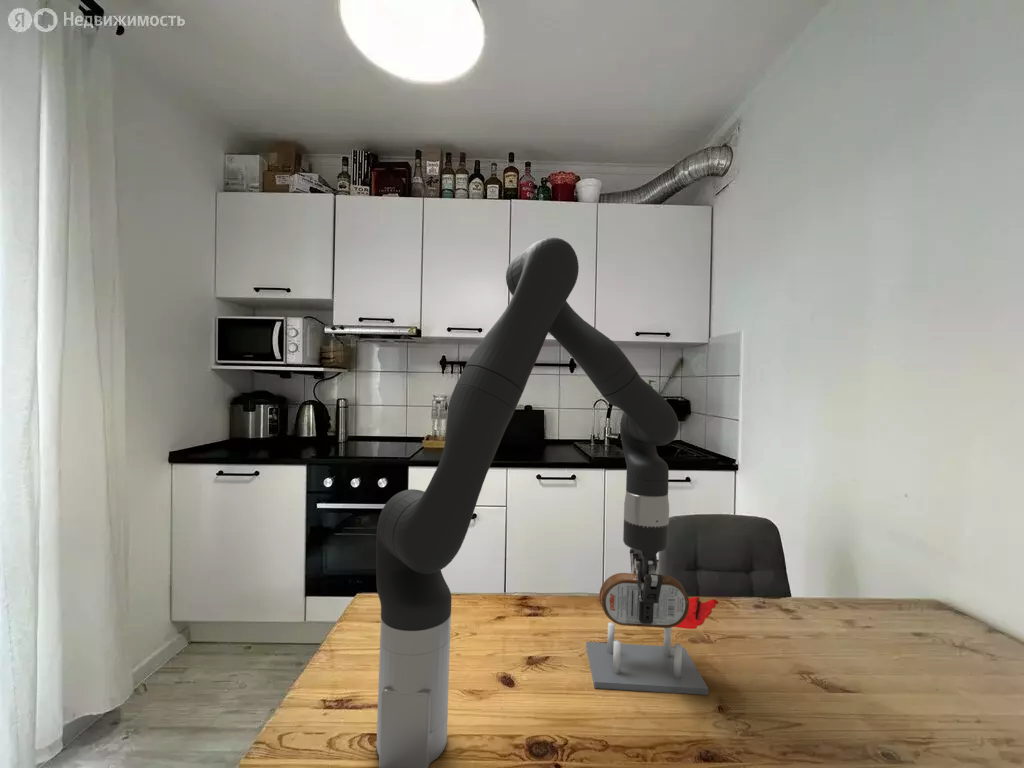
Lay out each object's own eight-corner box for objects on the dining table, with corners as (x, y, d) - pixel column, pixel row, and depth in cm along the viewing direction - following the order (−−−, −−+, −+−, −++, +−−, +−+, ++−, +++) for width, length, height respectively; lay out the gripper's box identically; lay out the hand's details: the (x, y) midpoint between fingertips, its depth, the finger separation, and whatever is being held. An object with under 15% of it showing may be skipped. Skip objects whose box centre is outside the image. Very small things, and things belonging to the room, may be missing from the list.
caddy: (708, 695, 75) (709, 657, 75) (594, 688, 76) (595, 650, 76) (684, 652, 87) (685, 620, 87) (586, 647, 88) (587, 614, 88)
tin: (685, 622, 83) (685, 574, 83) (691, 631, 80) (691, 580, 80) (598, 618, 84) (599, 570, 84) (601, 627, 81) (602, 577, 81)
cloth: (632, 636, 94) (633, 624, 94) (606, 604, 107) (607, 594, 107) (750, 628, 98) (750, 617, 98) (711, 599, 112) (711, 589, 112)
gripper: (680, 531, 75) (677, 641, 75) (657, 508, 89) (654, 600, 89) (632, 529, 75) (630, 638, 75) (616, 506, 89) (614, 598, 89)
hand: (643, 617), depth 82 cm, fingers closed on tin, 2 cm apart
